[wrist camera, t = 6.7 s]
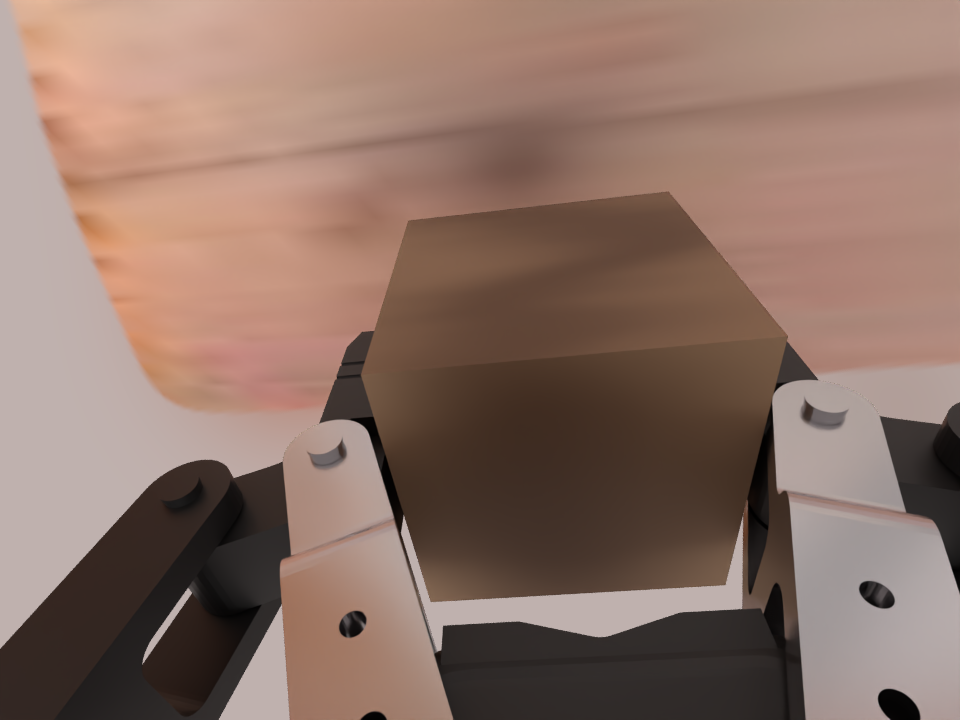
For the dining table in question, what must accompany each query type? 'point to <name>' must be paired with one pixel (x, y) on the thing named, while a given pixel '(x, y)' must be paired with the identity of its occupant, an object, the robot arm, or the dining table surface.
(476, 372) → the walnut cube
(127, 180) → the dining table surface
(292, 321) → the dining table surface
